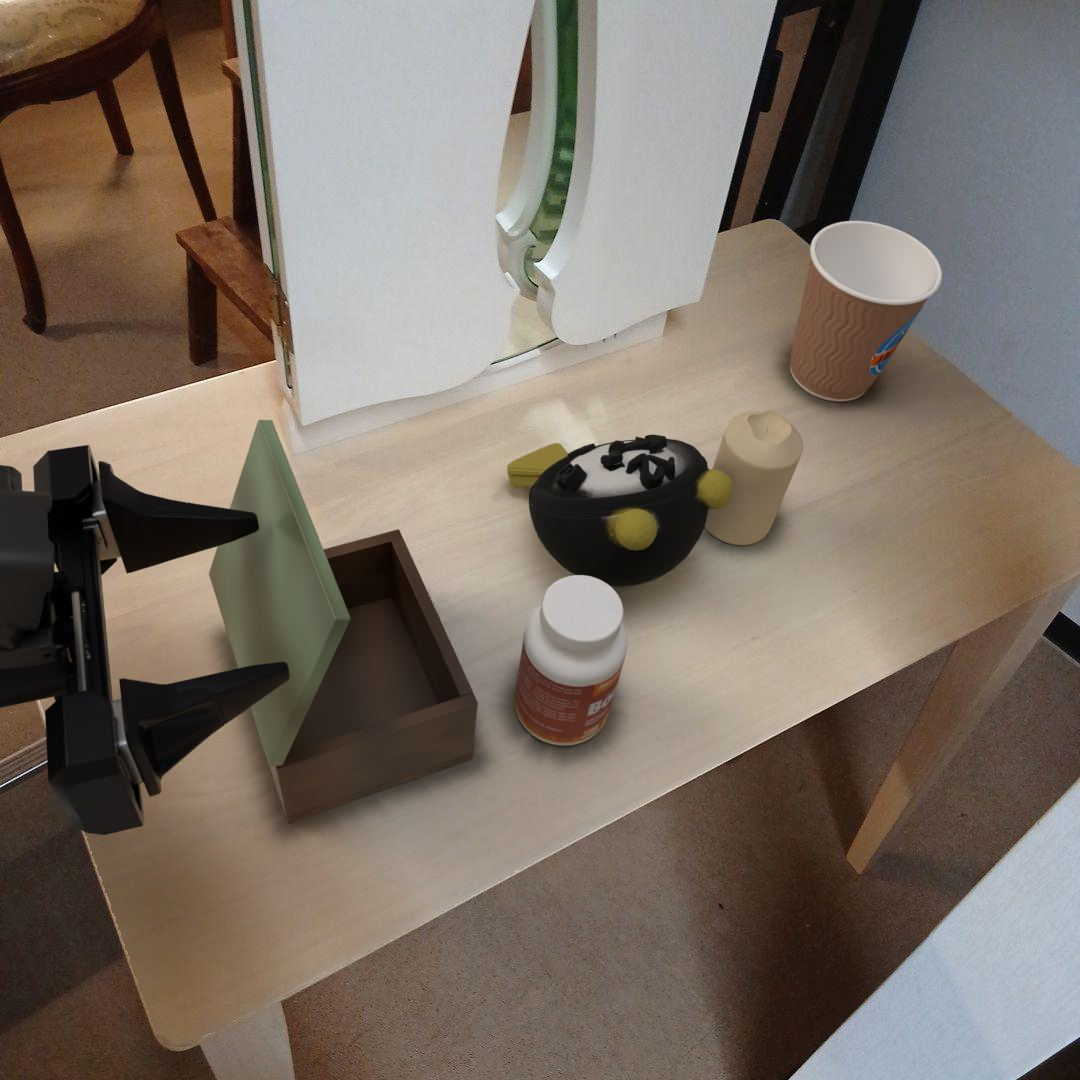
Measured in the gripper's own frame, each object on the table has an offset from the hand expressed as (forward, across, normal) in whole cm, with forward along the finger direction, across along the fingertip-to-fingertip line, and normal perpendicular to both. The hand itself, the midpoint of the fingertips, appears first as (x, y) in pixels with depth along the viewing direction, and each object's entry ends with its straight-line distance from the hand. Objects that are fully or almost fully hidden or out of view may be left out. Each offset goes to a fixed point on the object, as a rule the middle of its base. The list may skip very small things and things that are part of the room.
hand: (272, 592), depth 52 cm
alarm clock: (+24, +11, +17) cm, 31 cm away
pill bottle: (+17, -1, +17) cm, 24 cm away
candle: (+35, +11, +17) cm, 40 cm away
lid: (0, +3, +4) cm, 5 cm away
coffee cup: (+50, +24, +17) cm, 58 cm away
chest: (+4, +3, +17) cm, 17 cm away
